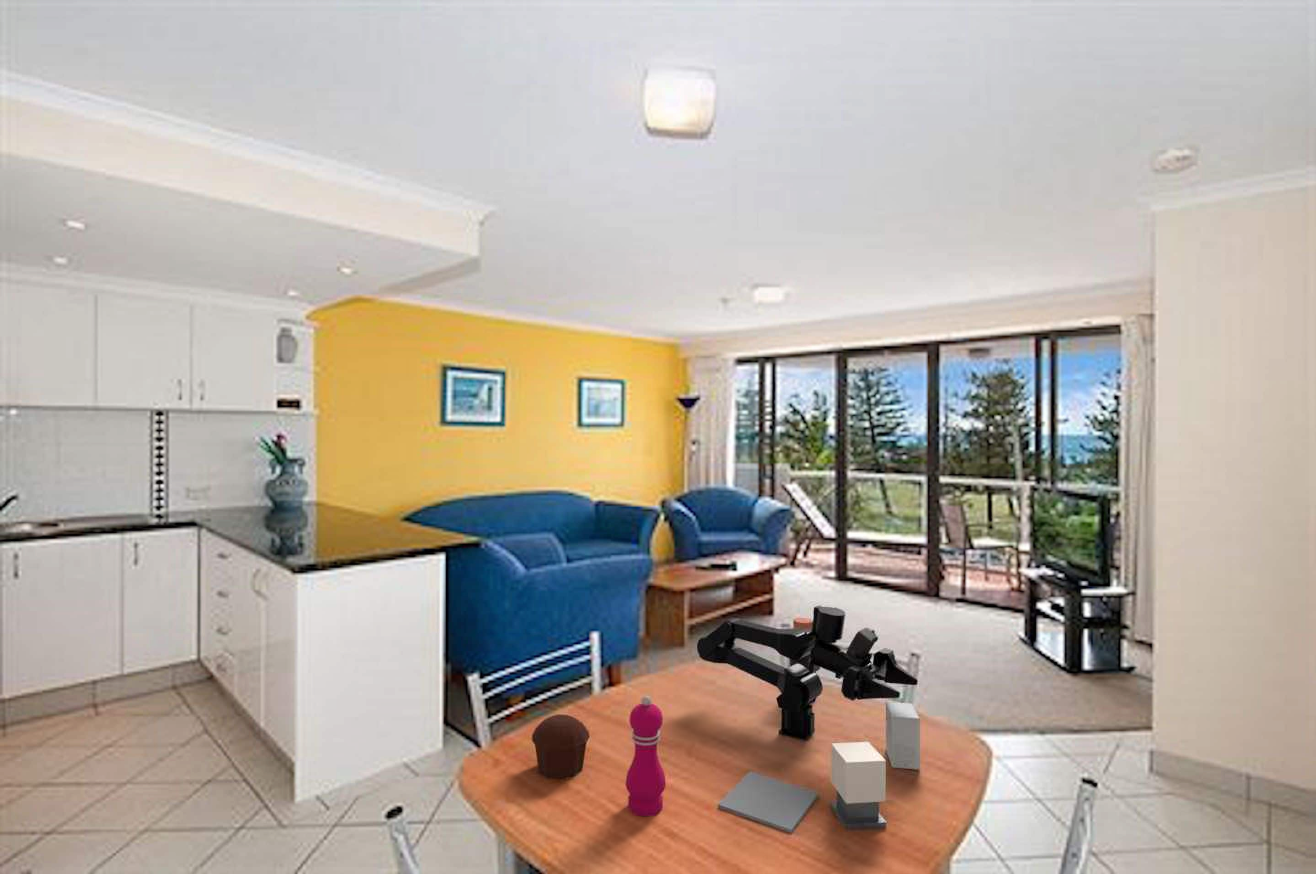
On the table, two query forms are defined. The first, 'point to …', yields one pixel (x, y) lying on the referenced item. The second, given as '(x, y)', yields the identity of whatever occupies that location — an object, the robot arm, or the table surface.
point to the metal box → (857, 814)
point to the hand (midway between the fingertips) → (908, 688)
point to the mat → (769, 801)
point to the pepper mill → (645, 761)
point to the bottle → (801, 624)
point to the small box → (902, 735)
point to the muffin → (560, 746)
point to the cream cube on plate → (858, 772)
